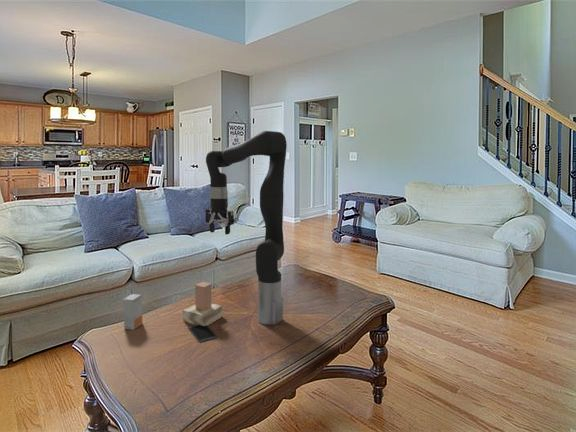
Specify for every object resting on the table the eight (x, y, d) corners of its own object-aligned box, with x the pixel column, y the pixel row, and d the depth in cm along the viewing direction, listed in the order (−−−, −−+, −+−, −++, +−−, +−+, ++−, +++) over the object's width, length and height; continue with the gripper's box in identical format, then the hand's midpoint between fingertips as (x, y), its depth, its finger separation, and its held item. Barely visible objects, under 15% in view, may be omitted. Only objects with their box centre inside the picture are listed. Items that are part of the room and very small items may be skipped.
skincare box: (134, 330, 144) (132, 300, 142) (124, 329, 144) (122, 299, 143) (143, 323, 149) (141, 294, 148) (133, 322, 150) (131, 293, 148)
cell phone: (199, 344, 135) (199, 342, 134) (187, 329, 146) (187, 327, 146) (218, 339, 138) (218, 337, 138) (205, 324, 150) (205, 322, 150)
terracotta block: (211, 307, 154) (211, 283, 153) (204, 311, 151) (204, 287, 149) (202, 304, 156) (202, 281, 155) (195, 308, 153) (195, 285, 151)
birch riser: (222, 317, 157) (221, 305, 156) (204, 327, 147) (204, 315, 146) (201, 312, 162) (201, 300, 161) (183, 321, 152) (182, 310, 151)
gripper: (200, 196, 166) (201, 233, 168) (226, 198, 159) (227, 236, 162) (212, 195, 172) (213, 230, 175) (237, 197, 166) (237, 233, 168)
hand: (219, 233), depth 168 cm, fingers open, 8 cm apart
